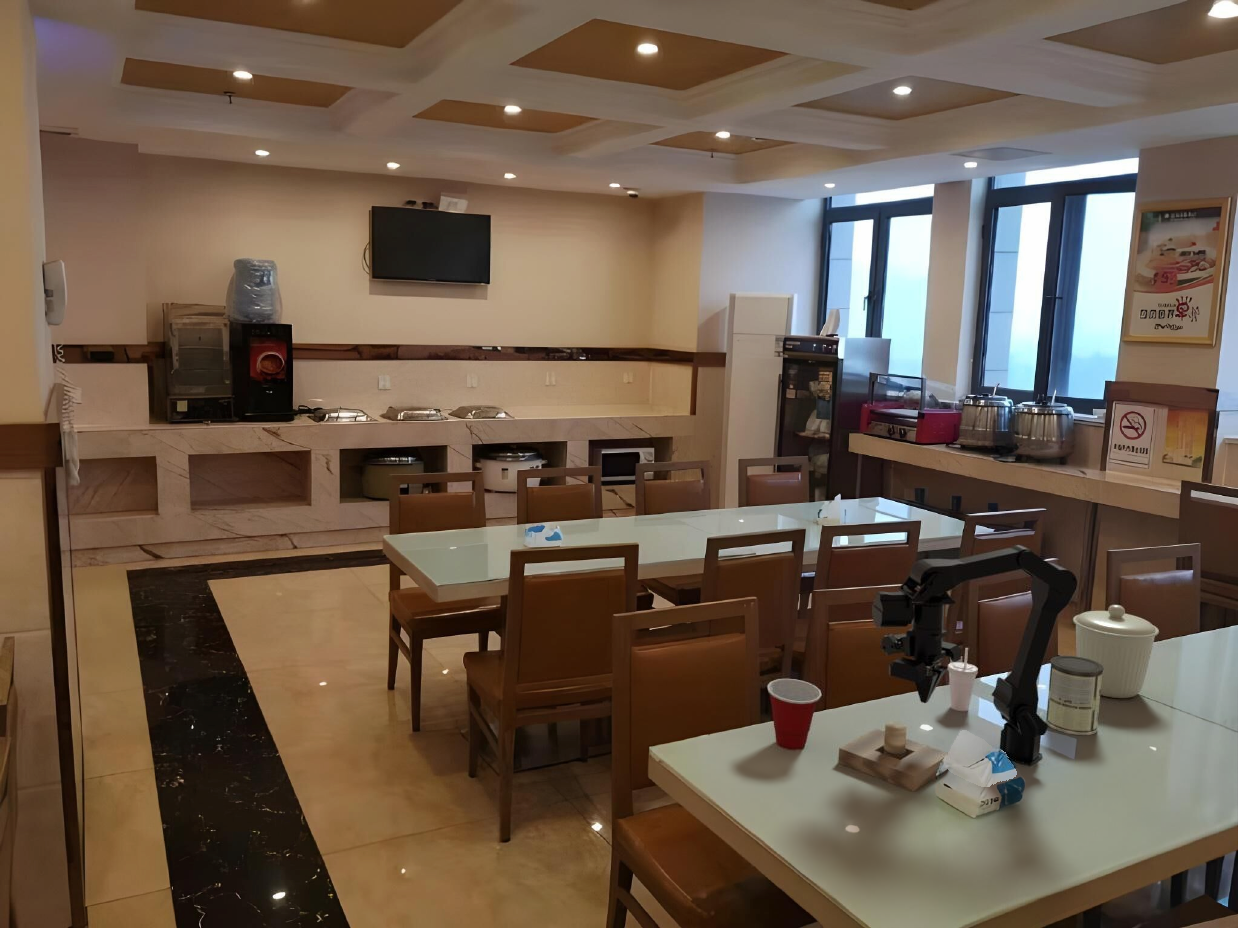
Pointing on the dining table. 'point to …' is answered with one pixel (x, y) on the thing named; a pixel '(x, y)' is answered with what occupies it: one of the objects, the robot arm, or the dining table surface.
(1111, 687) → the canister
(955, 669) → the smoothie
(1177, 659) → the dining table surface
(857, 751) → the board
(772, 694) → the plastic cup
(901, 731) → the peg
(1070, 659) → the coffee can
